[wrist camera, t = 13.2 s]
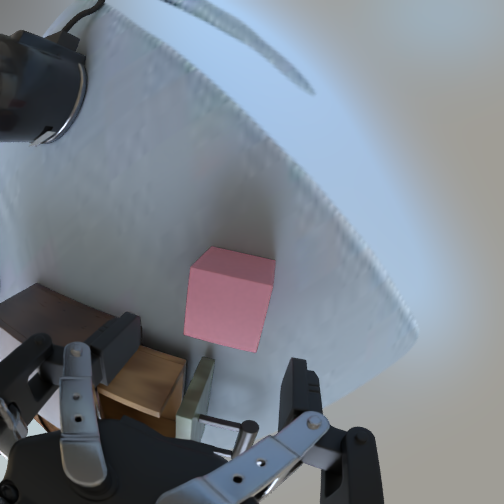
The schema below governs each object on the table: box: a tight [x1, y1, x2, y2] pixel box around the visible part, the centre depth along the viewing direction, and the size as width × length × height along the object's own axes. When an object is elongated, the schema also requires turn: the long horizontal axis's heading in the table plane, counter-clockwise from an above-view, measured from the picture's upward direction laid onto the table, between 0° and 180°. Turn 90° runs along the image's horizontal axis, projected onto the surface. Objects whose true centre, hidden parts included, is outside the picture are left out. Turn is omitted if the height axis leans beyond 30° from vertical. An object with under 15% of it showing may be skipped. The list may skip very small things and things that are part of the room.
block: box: [184, 246, 276, 353], centre depth 19 cm, size 5×5×5 cm
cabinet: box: [0, 283, 142, 430], centre depth 21 cm, size 16×13×9 cm
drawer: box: [97, 345, 259, 459], centre depth 21 cm, size 19×11×7 cm, turn 79°
